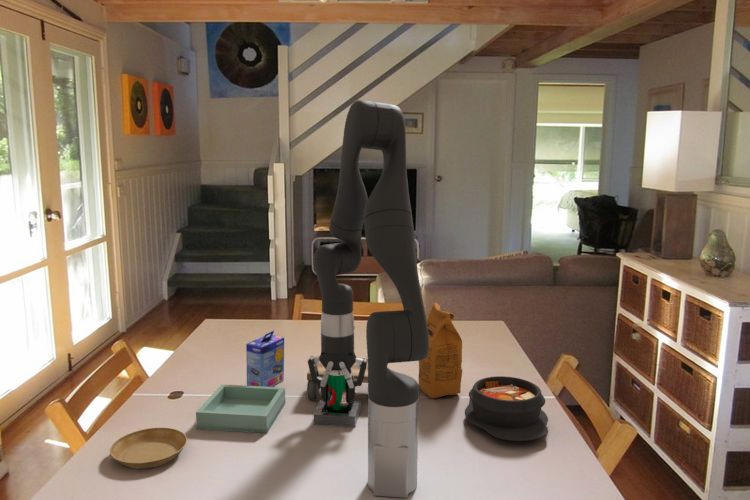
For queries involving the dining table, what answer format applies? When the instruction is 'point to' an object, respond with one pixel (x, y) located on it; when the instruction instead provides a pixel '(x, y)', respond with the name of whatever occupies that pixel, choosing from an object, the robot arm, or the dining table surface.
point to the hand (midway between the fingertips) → (338, 401)
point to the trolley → (313, 387)
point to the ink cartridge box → (265, 361)
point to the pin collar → (337, 415)
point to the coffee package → (441, 356)
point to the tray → (241, 408)
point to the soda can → (337, 392)
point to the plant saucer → (148, 447)
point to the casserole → (507, 408)
